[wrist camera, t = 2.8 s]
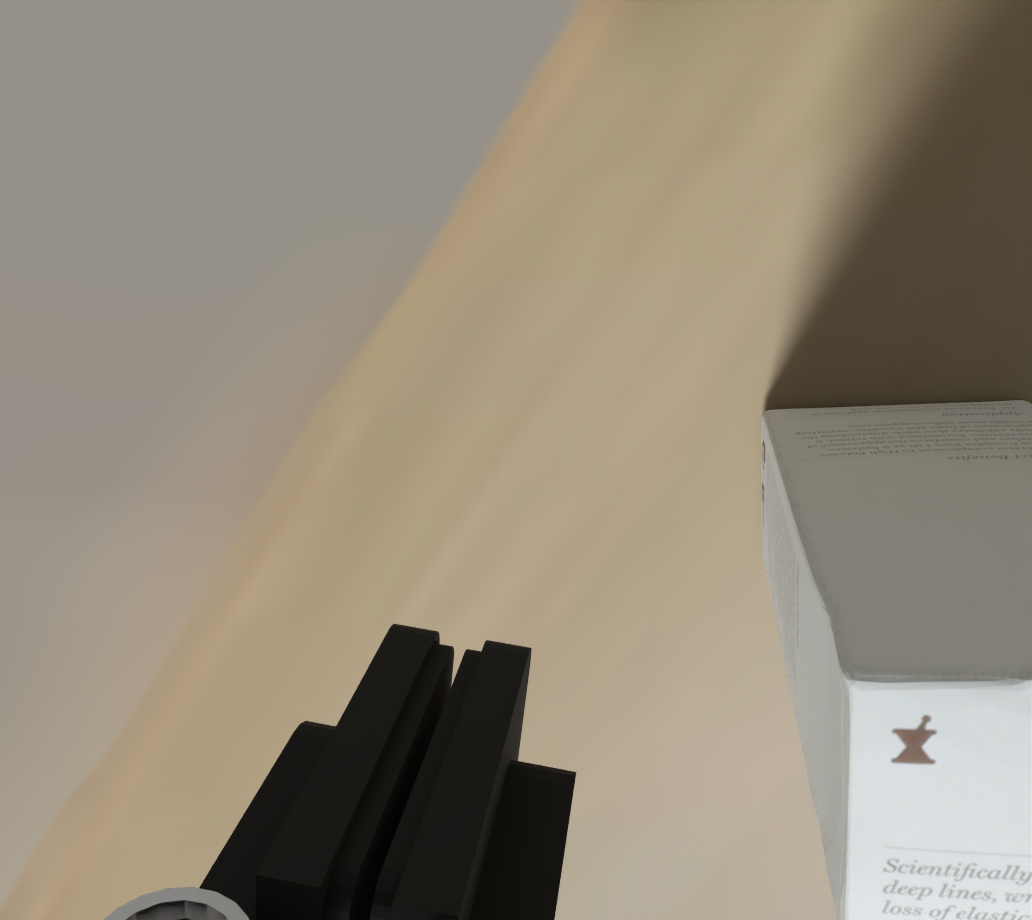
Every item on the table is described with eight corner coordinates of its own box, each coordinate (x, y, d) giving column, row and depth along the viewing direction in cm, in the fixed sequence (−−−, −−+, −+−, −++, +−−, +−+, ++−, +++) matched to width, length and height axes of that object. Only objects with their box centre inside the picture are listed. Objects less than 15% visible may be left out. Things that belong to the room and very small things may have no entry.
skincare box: (761, 566, 24) (817, 966, 13) (757, 394, 22) (818, 672, 11) (1027, 563, 23) (1354, 1003, 11) (1042, 381, 21) (1434, 678, 10)
